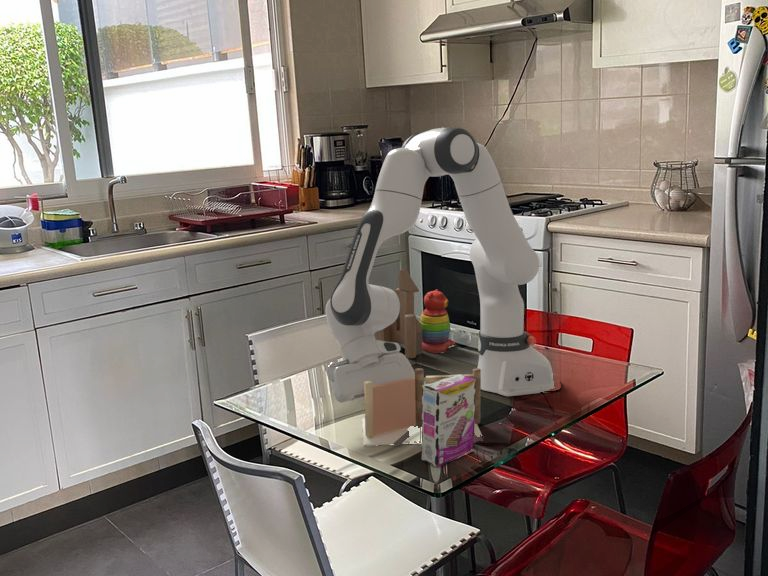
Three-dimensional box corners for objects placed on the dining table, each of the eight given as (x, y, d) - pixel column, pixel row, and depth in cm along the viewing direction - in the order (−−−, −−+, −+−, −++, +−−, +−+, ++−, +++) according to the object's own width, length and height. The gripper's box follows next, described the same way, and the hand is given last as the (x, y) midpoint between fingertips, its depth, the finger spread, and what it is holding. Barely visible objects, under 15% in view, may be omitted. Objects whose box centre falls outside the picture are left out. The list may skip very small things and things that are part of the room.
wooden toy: (375, 348, 235) (373, 268, 230) (391, 344, 239) (390, 265, 234) (410, 359, 224) (409, 275, 218) (426, 354, 228) (426, 272, 223)
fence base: (479, 422, 177) (480, 366, 174) (481, 425, 175) (481, 369, 172) (414, 424, 176) (414, 368, 173) (415, 428, 174) (415, 371, 171)
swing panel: (412, 423, 175) (411, 371, 172) (416, 425, 173) (415, 374, 171) (364, 434, 169) (362, 381, 166) (368, 437, 167) (366, 384, 165)
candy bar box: (437, 469, 153) (437, 391, 150) (420, 461, 157) (420, 384, 154) (476, 452, 161) (476, 378, 157) (458, 445, 164) (459, 372, 161)
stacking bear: (442, 354, 228) (442, 296, 224) (412, 350, 233) (412, 292, 229) (458, 345, 237) (458, 289, 233) (429, 341, 242) (429, 286, 238)
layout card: (472, 415, 180) (472, 414, 180) (485, 443, 165) (485, 441, 165) (362, 420, 179) (362, 418, 179) (364, 448, 164) (364, 446, 164)
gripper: (327, 357, 169) (351, 413, 163) (404, 342, 180) (429, 393, 174) (318, 371, 174) (341, 426, 168) (394, 355, 185) (417, 406, 179)
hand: (386, 409), depth 171 cm, fingers closed, pressing on swing panel
